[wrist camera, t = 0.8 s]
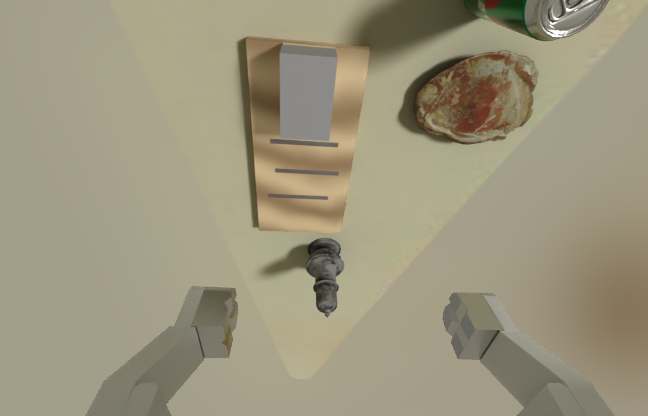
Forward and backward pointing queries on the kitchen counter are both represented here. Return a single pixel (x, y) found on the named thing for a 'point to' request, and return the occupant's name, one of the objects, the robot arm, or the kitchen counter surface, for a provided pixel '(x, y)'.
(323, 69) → the block
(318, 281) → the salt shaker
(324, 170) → the board
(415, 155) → the kitchen counter surface
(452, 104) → the oyster shell
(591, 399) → the robot arm
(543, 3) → the soda can
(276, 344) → the kitchen counter surface
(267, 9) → the kitchen counter surface
